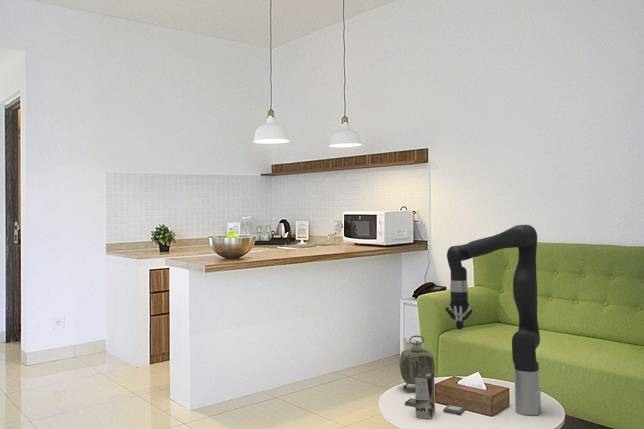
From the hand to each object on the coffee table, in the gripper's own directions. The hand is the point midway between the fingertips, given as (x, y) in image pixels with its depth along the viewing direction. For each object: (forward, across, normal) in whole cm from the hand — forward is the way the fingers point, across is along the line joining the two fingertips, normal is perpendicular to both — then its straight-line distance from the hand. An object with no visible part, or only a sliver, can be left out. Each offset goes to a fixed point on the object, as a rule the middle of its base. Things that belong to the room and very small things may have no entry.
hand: (459, 329), depth 246 cm
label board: (+29, +4, +22) cm, 37 cm away
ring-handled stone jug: (+29, +19, +4) cm, 35 cm away
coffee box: (+29, +4, +31) cm, 43 cm away
